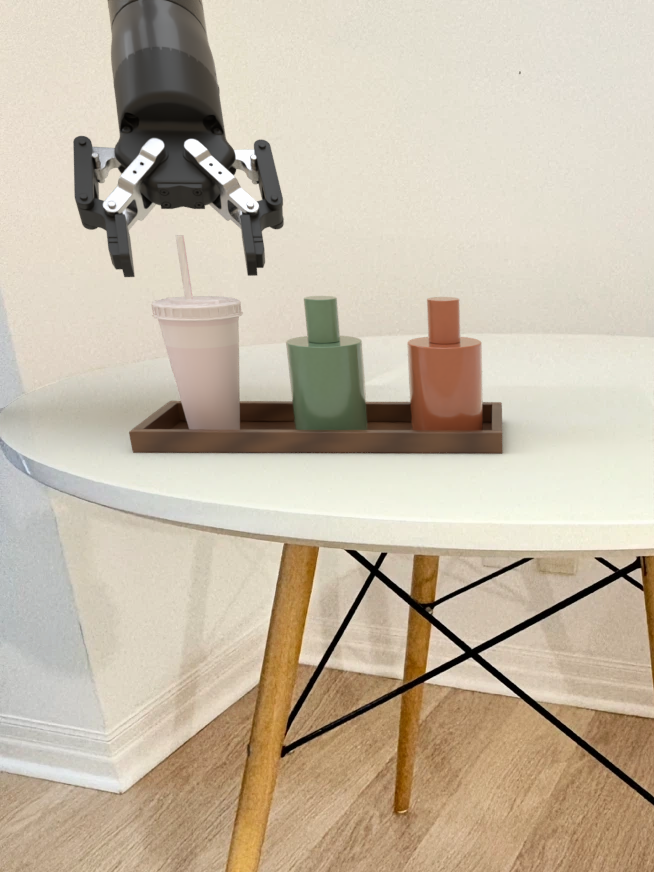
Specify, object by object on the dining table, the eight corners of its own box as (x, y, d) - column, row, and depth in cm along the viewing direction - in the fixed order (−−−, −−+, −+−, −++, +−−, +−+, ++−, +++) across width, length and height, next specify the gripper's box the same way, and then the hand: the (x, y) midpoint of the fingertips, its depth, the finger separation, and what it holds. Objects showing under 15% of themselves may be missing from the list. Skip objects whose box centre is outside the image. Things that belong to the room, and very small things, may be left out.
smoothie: (198, 422, 81) (168, 231, 75) (271, 427, 80) (248, 233, 73) (156, 441, 76) (120, 237, 69) (234, 446, 75) (206, 239, 68)
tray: (133, 460, 74) (128, 431, 73) (174, 426, 83) (170, 400, 82) (502, 461, 75) (502, 432, 74) (502, 427, 84) (501, 401, 83)
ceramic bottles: (289, 444, 76) (274, 302, 71) (302, 426, 81) (288, 292, 76) (482, 444, 76) (480, 303, 72) (483, 427, 81) (481, 294, 76)
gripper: (53, 38, 70) (72, 230, 66) (261, 47, 74) (291, 229, 70) (76, 127, 77) (95, 306, 73) (265, 131, 81) (293, 301, 77)
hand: (191, 268), depth 72 cm, fingers open, 8 cm apart
